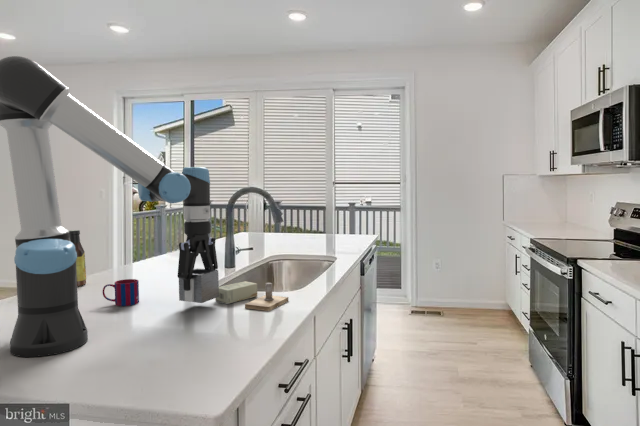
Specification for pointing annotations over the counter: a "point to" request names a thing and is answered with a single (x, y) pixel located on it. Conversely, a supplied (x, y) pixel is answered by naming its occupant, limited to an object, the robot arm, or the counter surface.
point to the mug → (125, 292)
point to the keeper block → (267, 300)
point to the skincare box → (237, 292)
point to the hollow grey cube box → (202, 285)
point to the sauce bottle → (79, 257)
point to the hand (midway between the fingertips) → (199, 297)
